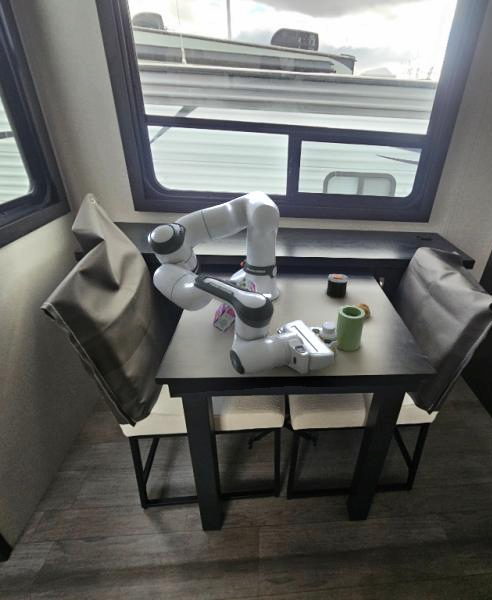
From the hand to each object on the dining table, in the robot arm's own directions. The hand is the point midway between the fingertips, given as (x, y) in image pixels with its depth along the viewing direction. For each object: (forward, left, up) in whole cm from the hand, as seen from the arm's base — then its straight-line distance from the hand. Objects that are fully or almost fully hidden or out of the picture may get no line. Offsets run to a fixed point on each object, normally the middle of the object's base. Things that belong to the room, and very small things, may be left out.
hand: (330, 336), depth 95 cm
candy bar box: (-37, -2, -4) cm, 38 cm away
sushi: (-7, +39, -6) cm, 40 cm away
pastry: (+5, +25, -6) cm, 26 cm away
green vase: (+5, +6, -6) cm, 10 cm away
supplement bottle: (-1, -1, -6) cm, 6 cm away
